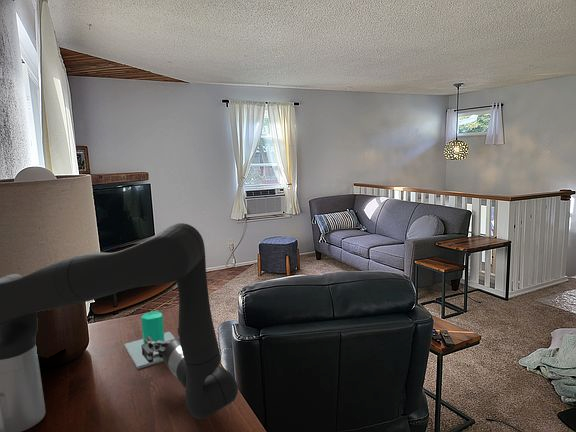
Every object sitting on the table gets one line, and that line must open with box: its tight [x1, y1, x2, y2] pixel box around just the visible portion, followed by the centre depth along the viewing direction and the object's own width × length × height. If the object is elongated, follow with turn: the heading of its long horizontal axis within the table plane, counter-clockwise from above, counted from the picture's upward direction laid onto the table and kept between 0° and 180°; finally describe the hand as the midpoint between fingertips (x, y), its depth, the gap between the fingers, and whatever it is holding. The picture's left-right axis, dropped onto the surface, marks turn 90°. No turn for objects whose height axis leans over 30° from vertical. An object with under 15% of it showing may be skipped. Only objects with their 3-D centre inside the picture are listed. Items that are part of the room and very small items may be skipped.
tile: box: [124, 331, 176, 370], centre depth 116 cm, size 16×14×1 cm
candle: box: [140, 309, 165, 348], centre depth 115 cm, size 6×6×12 cm
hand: (163, 334), depth 106 cm, fingers open, 8 cm apart
